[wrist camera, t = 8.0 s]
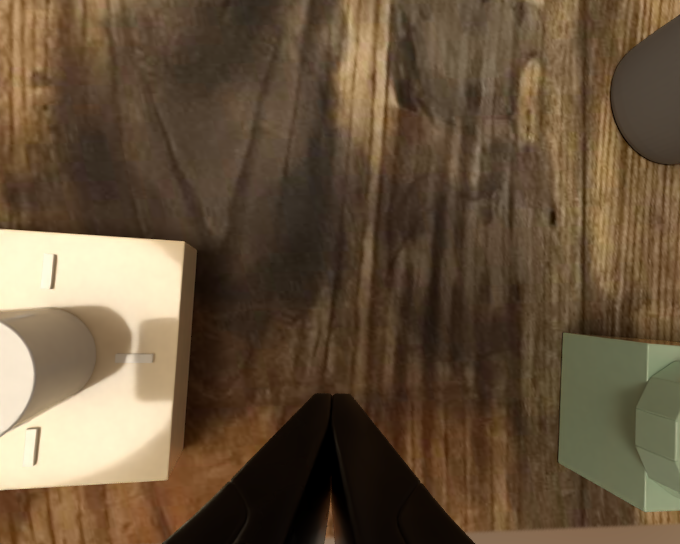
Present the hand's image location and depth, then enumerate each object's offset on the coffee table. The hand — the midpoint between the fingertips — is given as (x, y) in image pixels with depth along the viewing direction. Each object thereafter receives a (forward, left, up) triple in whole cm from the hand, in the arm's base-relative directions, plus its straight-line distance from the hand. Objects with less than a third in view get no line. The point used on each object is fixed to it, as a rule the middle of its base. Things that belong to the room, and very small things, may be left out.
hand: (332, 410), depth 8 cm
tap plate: (+6, +9, -11) cm, 15 cm away
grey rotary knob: (+6, +9, -8) cm, 13 cm away
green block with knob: (-17, -19, -11) cm, 27 cm away
